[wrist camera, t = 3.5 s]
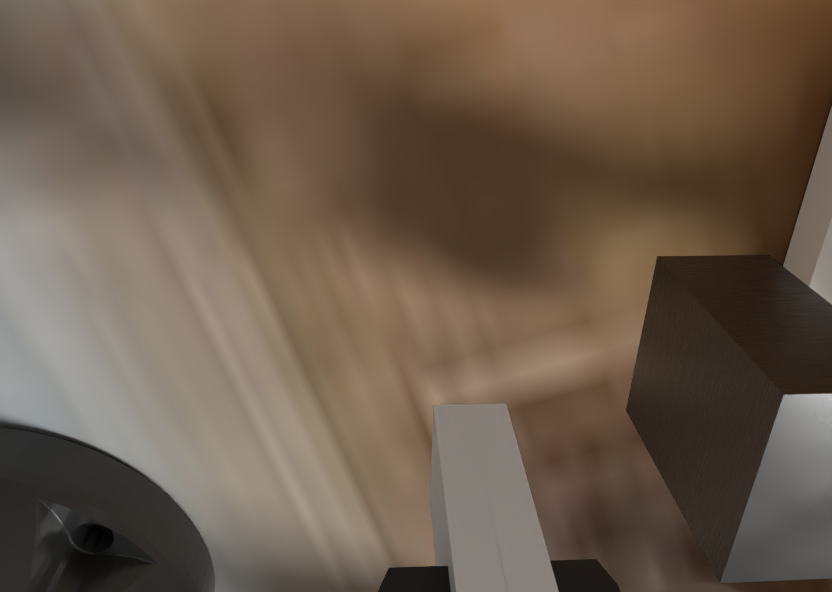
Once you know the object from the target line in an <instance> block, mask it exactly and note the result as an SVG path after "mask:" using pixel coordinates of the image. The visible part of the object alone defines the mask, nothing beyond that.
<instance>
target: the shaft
mask: <svg viewBox="0 0 832 592" xmlns="http://www.w3.org/2000/svg"><path fill="white" fill-rule="evenodd" d="M626 411H627V413H628V415H629V417H630V419H631V421H632V422H633V424H634V426H635V428H636V430H637V432H638V433H639V435H640V437H641V439H642V441H643V443H644V444H645V446H646V448H647V450H648V452H649V454H650V455H651V457H652V459H653V461H654V463H655V465H656V466H657V468H658V470H659V472H660V474H661V476H662V477H663V479H664V481H665V483H666V485H667V487H668V488H669V490H670V492H671V494H672V496H673V498H674V499H675V501H676V503H677V505H678V507H679V509H680V510H681V512H682V514H683V516H684V518H685V520H686V521H687V523H688V525H689V527H690V529H691V531H692V532H693V534H694V536H695V538H696V540H697V542H698V543H699V545H700V547H701V549H702V551H703V553H704V554H705V556H706V558H707V560H708V562H709V564H710V565H711V567H712V569H713V571H714V573H715V575H716V576H717V578H718V580H719V582H720V583H735V582H759V581H783V580H807V579H831V578H832V304H830V303H829V302H828V301H827V300H825V299H824V298H823V297H822V296H820V295H819V294H818V293H816V292H815V291H814V290H813V289H811V288H810V287H809V286H808V285H806V284H805V283H804V282H802V281H801V280H800V279H799V278H797V277H796V276H795V275H793V274H792V273H791V272H790V271H788V270H787V269H786V268H785V267H783V266H782V265H781V264H779V263H778V262H777V261H776V260H774V259H773V258H772V257H770V256H769V255H738V256H657V260H656V265H655V270H654V275H653V280H652V285H651V290H650V295H649V300H648V305H647V310H646V315H645V320H644V325H643V329H642V334H641V339H640V344H639V349H638V354H637V359H636V364H635V369H634V374H633V379H632V384H631V389H630V393H629V398H628V403H627V408H626Z"/></svg>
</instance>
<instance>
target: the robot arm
mask: <svg viewBox="0 0 832 592" xmlns="http://www.w3.org/2000/svg"><path fill="white" fill-rule="evenodd" d="M430 506H431V517H432V527H433V538H434V548H435V559H436V566H428V567H398V568H389V569H388V571H387V573H386V575H385V578H384V580H383V582H382V584H381V586H380V589H379V591H378V592H620V589H619V587H618V584H617V583H616V582H615V581H614V580H613V579H612V577H611V576H610V575H609V574H608V573H607V571H606V570H605V569H604V568H603V567H602V566H601V564H600V563H599V562H598V561H597V560H596V559H588V560H558V561H550V559H549V555H548V552H547V548H546V545H545V541H544V537H543V534H542V530H541V527H540V523H539V520H538V516H537V512H536V509H535V505H534V502H533V498H532V495H531V491H530V488H529V484H528V480H527V477H526V473H525V470H524V466H523V463H522V459H521V455H520V452H519V448H518V445H517V441H516V438H515V434H514V430H513V427H512V423H511V420H510V416H509V413H508V409H507V405H506V404H462V405H433V434H432V464H431V495H430ZM0 592H214V572H213V566H212V562H211V558H210V555H209V552H208V549H207V547H206V545H205V543H204V540H203V538H202V537H201V535H200V533H199V532H198V530H197V528H196V527H195V525H194V524H193V523H192V521H191V520H190V518H189V517H188V516H187V515H186V514H185V512H184V511H183V510H182V509H181V508H180V507H179V506H178V505H177V504H176V503H175V502H174V501H173V500H172V499H171V498H170V497H169V496H168V495H167V494H166V493H164V492H163V491H162V490H161V489H160V488H158V487H157V486H156V485H154V484H153V483H152V482H151V481H149V480H148V479H146V478H145V477H143V476H142V475H140V474H139V473H137V472H135V471H134V470H132V469H130V468H129V467H127V466H125V465H123V464H122V463H120V462H118V461H116V460H114V459H112V458H110V457H108V456H105V455H103V454H101V453H99V452H97V451H94V450H91V449H89V448H86V447H84V446H81V445H78V444H75V443H72V442H69V441H66V440H63V439H59V438H55V437H52V436H48V435H43V434H39V433H34V432H28V431H22V430H16V429H8V428H0Z"/></svg>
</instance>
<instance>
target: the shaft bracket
mask: <svg viewBox="0 0 832 592" xmlns="http://www.w3.org/2000/svg"><path fill="white" fill-rule="evenodd" d="M783 267H785V268H786V269H787V270H788V271H790V272H791V273H792V274H793V275H795V276H796V277H797V278H799V279H800V280H801V281H802V282H804V283H805V284H806V285H808V286H809V287H810V288H811V289H813V290H814V291H815V292H816V293H818V294H819V295H820V296H822V297H823V298H824V299H825V300H827V301H828V302H829V303H830V304H832V106H831V110H830V113H829V116H828V119H827V123H826V126H825V129H824V133H823V136H822V139H821V143H820V146H819V149H818V152H817V156H816V159H815V162H814V166H813V169H812V172H811V176H810V179H809V182H808V185H807V189H806V192H805V195H804V199H803V202H802V205H801V209H800V212H799V215H798V218H797V222H796V225H795V228H794V232H793V235H792V238H791V242H790V245H789V248H788V251H787V255H786V258H785V261H784V265H783Z"/></svg>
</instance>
